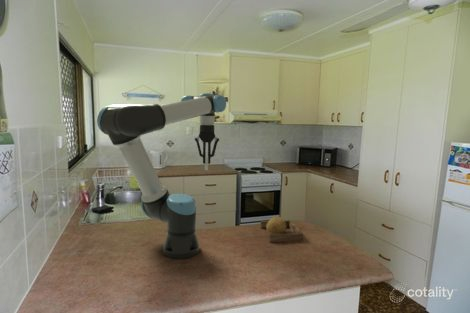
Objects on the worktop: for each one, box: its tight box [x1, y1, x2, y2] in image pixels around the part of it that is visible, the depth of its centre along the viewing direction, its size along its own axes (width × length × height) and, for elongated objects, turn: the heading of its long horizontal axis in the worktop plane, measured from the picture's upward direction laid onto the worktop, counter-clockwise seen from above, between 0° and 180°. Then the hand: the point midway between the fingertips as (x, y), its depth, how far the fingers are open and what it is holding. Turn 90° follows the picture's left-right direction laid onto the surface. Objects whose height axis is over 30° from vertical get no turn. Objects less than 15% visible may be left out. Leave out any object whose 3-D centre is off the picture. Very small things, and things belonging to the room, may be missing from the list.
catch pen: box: [260, 219, 304, 243], centre depth 140 cm, size 18×16×4 cm
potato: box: [265, 216, 287, 235], centre depth 140 cm, size 10×14×8 cm
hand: (206, 169), depth 148 cm, fingers closed
